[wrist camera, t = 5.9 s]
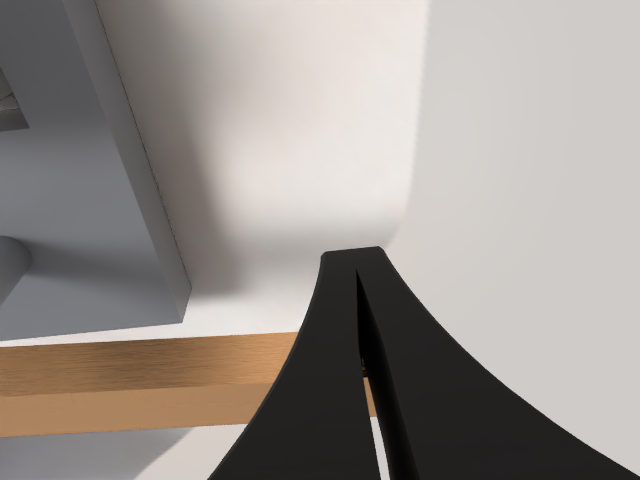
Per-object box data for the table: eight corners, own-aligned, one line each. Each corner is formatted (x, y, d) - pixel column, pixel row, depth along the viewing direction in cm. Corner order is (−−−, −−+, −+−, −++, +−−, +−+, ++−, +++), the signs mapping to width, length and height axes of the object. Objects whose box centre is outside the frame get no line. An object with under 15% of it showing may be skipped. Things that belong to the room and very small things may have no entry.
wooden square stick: (-112, 403, 13) (-155, 456, 12) (-168, 342, 11) (-224, 395, 10) (411, 376, 13) (423, 424, 12) (419, 312, 12) (434, 360, 10)
